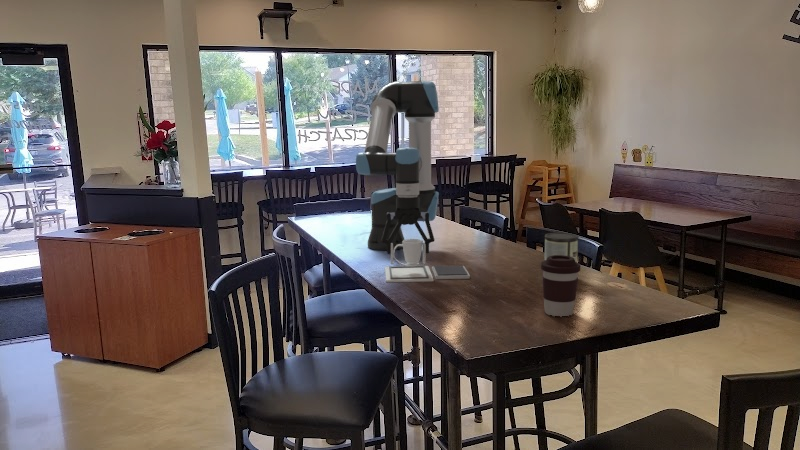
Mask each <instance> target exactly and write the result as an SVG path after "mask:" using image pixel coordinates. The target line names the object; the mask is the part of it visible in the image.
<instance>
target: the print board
mask: <svg viewBox="0 0 800 450" xmlns="http://www.w3.org/2000/svg"><path fill="white" fill-rule="evenodd" d="M384 273H385V282H386V283H415V282H416V283H417V282H419V283H420V282H424V283H425V282H434V278H433V277H434V276H433V274H432V271H431V269H430V266H429V265H418V266H407V265H398V266H395V265H393V266H384Z"/></svg>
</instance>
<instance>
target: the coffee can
mask: <svg viewBox="0 0 800 450" xmlns="http://www.w3.org/2000/svg"><path fill="white" fill-rule="evenodd" d="M578 242H579V235H577V234H574V233H570V232H550V233H549V232H548V233H545V235H544V260H543V261H546V259H547V257H549V256H552V255H565V256H570V257H573V258H574V259H575V262H577V263H578V251H579V250H578V248H579V246H578V245H579V243H578Z"/></svg>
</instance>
